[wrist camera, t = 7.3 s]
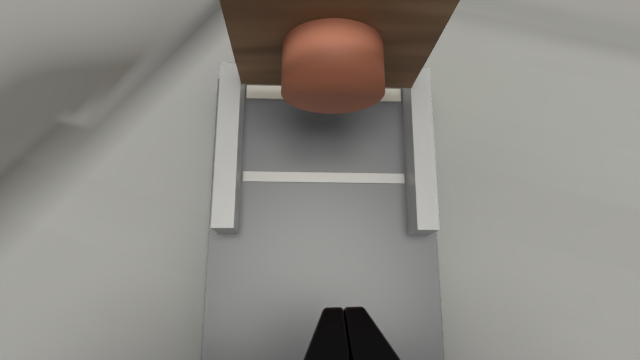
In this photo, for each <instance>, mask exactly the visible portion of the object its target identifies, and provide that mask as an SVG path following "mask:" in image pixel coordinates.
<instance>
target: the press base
mask: <svg viewBox="0 0 640 360" xmlns="http://www.w3.org/2000/svg"><path fill="white" fill-rule="evenodd" d="M438 230H440V225H439V209H438V193H437V176H436V160H435V143H434V127H433V111H432V94H431V78H430V68H422V70H421V72H420V73H419V75H418V77H417V79H416V81H415V83H414V84H413V86H412V88H388V87H385V95H384V97H383V98H382V99H381V100H380V101H379V102H378V103H376V104H375V105H373V106H371V107H368V108H366V109H363V110H359V111H355V112H349V113H339V114H325V113H315V112H309V111H305V110H302V109H299V108H296V107H294V106H292V105H290V104H289V103H287V102H286V101H285V100H284V99H283V97H282V95H281V85H262V84H241V81H240V78H239V74H238V70H237V66H236V63H224V62H221V63H220V79H218V91H217V107H216V124H215V140H214V157H213V174H212V190H211V207H210V223H209V240H208V256H207V273H206V289H205V306H204V323H203V339H202V356H201V360H303V359H304V356H305V354H306V351H307V349H308V346H309V344H310V341H311V339H312V336H313V333H314V331H315V328H316V326H317V323H318V321H319V318H320V316H321V313H322V311H323V309H324V308H326V307H341V308H343V310H344V308H346V307H359V306H361V307H364V308H365V309H366V311H367V312H368V314H369V315H370V316H371V318H372V319H373V321H374V322H375V324H376V325H377V326H378V328H379V329H380V331H381V332H382V334H383V335H384V337H385V338H386V339H387V341H388V342H389V344H390V345H391V347H392V348H393V349H394V351H395V352H396V354H397V355H398V357H399V358H400V359H401V360H444V347H443V330H442V314H441V297H440V280H439V263H438V246H437V231H438Z"/></svg>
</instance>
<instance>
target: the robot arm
mask: <svg viewBox="0 0 640 360" xmlns="http://www.w3.org/2000/svg"><path fill="white" fill-rule="evenodd" d="M303 360H401V359H400V358H399V357H398V355H397V354H396V352H395V351H394V349H393V348H392V347H391V345H390V344H389V342H388V341H387V339H386V338H385V337H384V335H383V334H382V332H381V331H380V329H379V328H378V326H377V325H376V324H375V322H374V321H373V319H372V318H371V316H370V315H369V314H368V312H367V311H366V309H365V308H364V307H361V306H359V307H346V308H344V310H343V308H341V307H326V308H324V309H323V311H322V313H321V316H320V318H319V321H318V323H317V326H316V328H315V331H314V333H313V336H312V339H311V341H310V344H309V346H308V349H307V351H306V354H305V356H304V359H303Z"/></svg>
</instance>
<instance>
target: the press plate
mask: <svg viewBox="0 0 640 360" xmlns="http://www.w3.org/2000/svg"><path fill="white" fill-rule="evenodd" d="M459 1H460V0H220V4H221V7H222V11H223V15H224V19H225V23H226V27H227V31H228V35H229V39H230V42H231V46H232V50H233V54H234V58H235V62H236V66H237V70H238V74H239V78H240V81H241V84H262V85H281V95H282V97H283V99H284V100H285V101H286V102H287V103H289V104H290V105H292V106H294V107H296V108H299V109H302V110H305V111H309V112H315V113H325V114H339V113H349V112H355V111H359V110H363V109H366V108H368V107H371V106H373V105H375V104H376V103H378V102H379V101H380V100H381V99H382V98H383V97H384V95H385V87H388V88H412V86H413V84H414V83H415V81H416V79H417V77H418V75H419V73H420V72H421V70H422V68H423V66H424V64H425V63H426V61H427V59H428V57H429V55H430V53H431V52H432V50H433V48H434V46H435V44H436V43H437V41H438V39H439V37H440V35H441V34H442V32H443V30H444V28H445V26H446V24H447V23H448V21H449V19H450V17H451V15H452V14H453V12H454V10H455V8H456V6H457V4H458V3H459Z"/></svg>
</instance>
